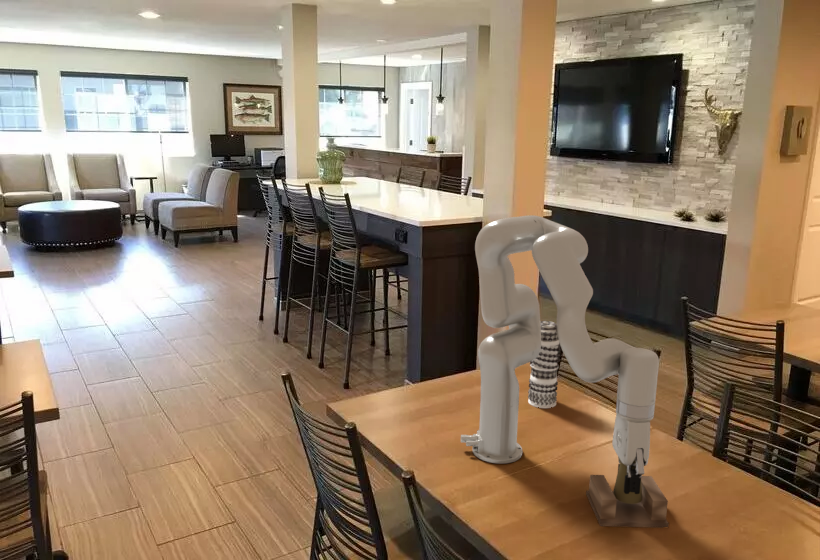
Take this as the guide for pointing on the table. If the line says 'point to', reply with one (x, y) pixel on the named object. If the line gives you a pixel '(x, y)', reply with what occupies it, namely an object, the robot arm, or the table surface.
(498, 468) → the table surface
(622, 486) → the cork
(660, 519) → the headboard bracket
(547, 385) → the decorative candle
